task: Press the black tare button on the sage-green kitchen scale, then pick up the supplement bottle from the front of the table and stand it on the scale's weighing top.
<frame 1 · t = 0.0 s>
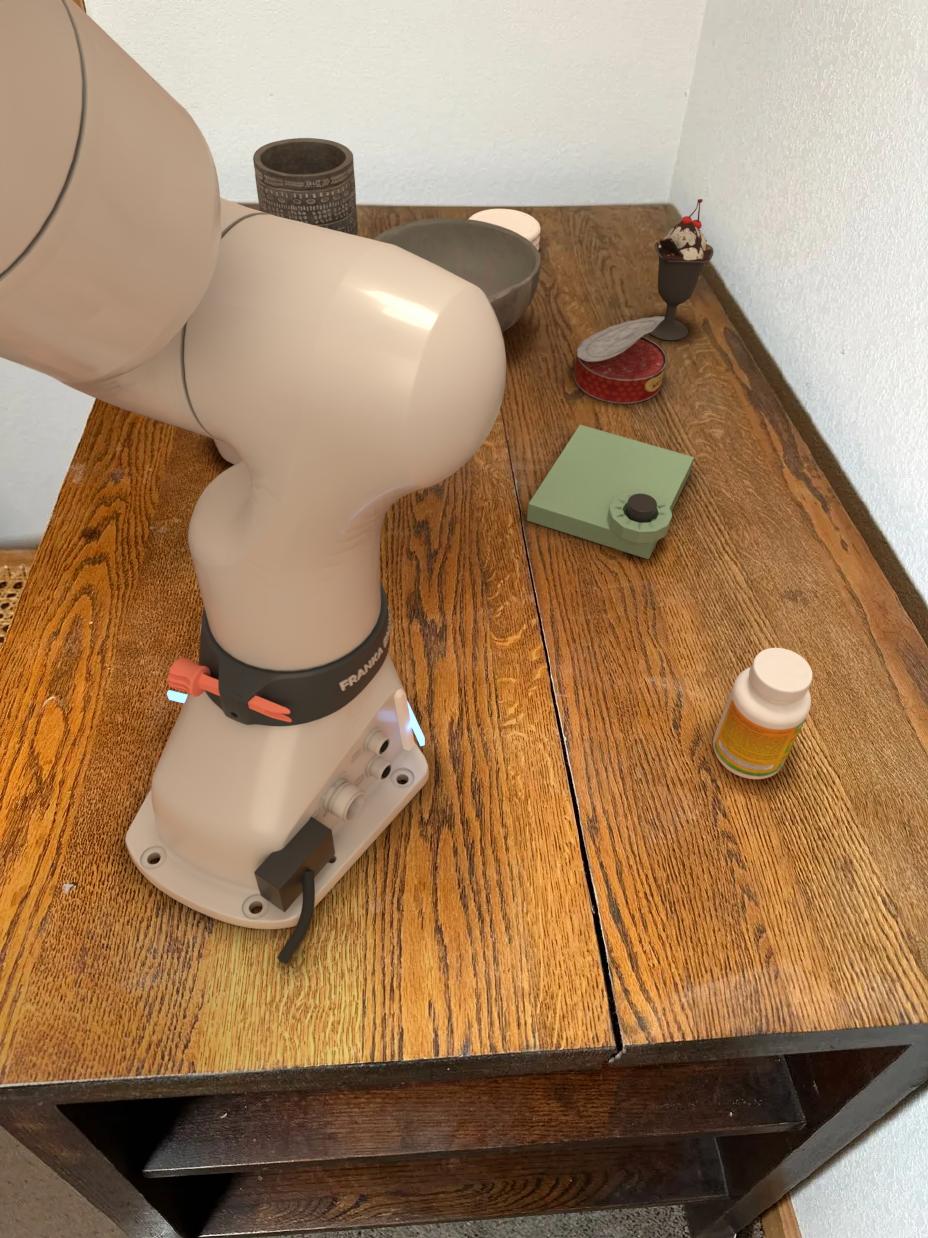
scale: (610, 496, 90), on the table
sundae: (666, 331, 112), on the table
supplement bottle: (747, 753, 70), on the table
tare button: (641, 508, 83), point 4 cm above the table, slide at 0.2 cm
planter: (313, 258, 122), on the table
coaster: (501, 250, 126), on the table
bowl: (448, 335, 110), on the table
candle: (254, 449, 94), on the table
canned food: (616, 380, 105), on the table
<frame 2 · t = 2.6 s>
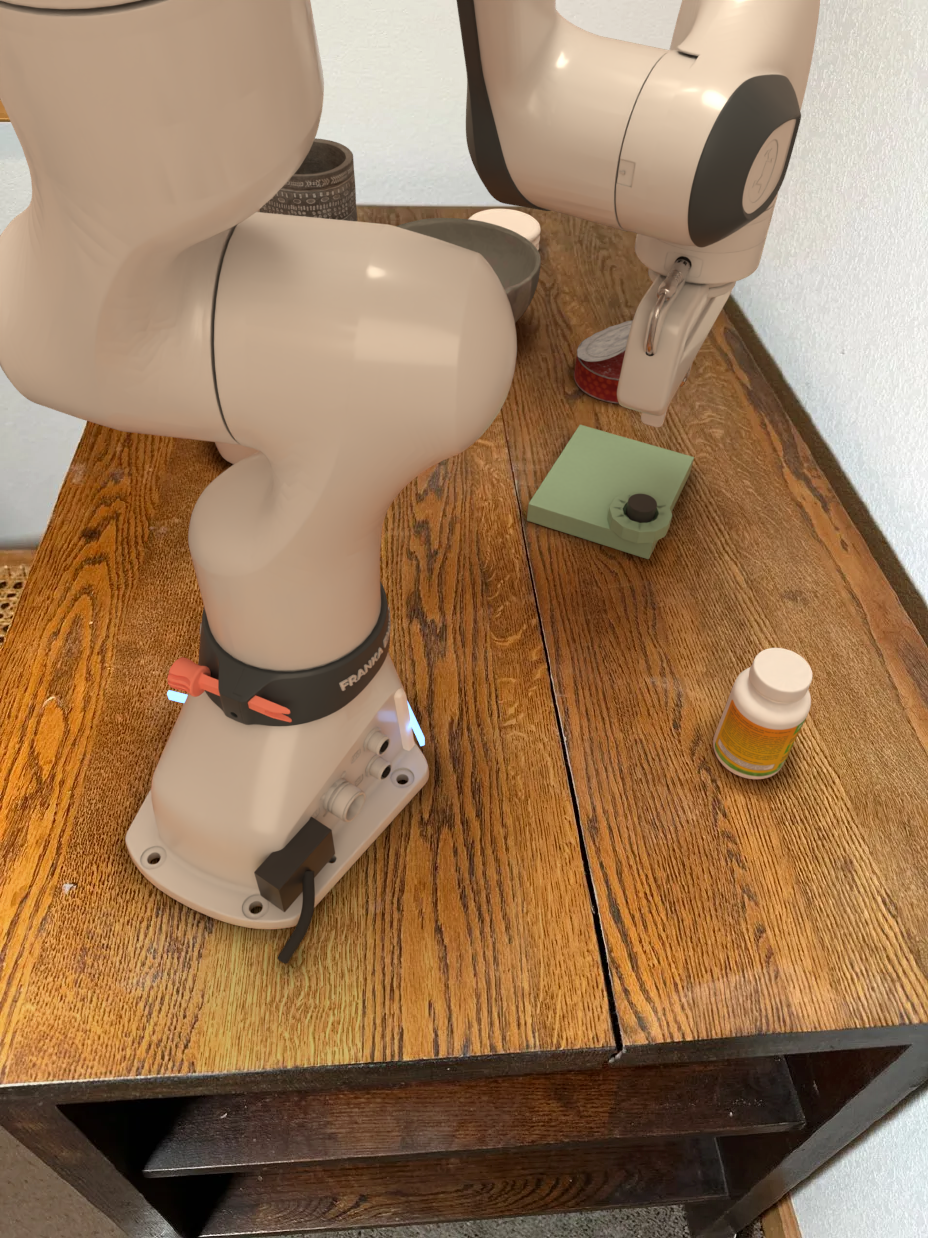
hand: (664, 400, 75), 15 cm above the table, tool pointing down, fingers open, 5 cm apart
nothing on the table moved.
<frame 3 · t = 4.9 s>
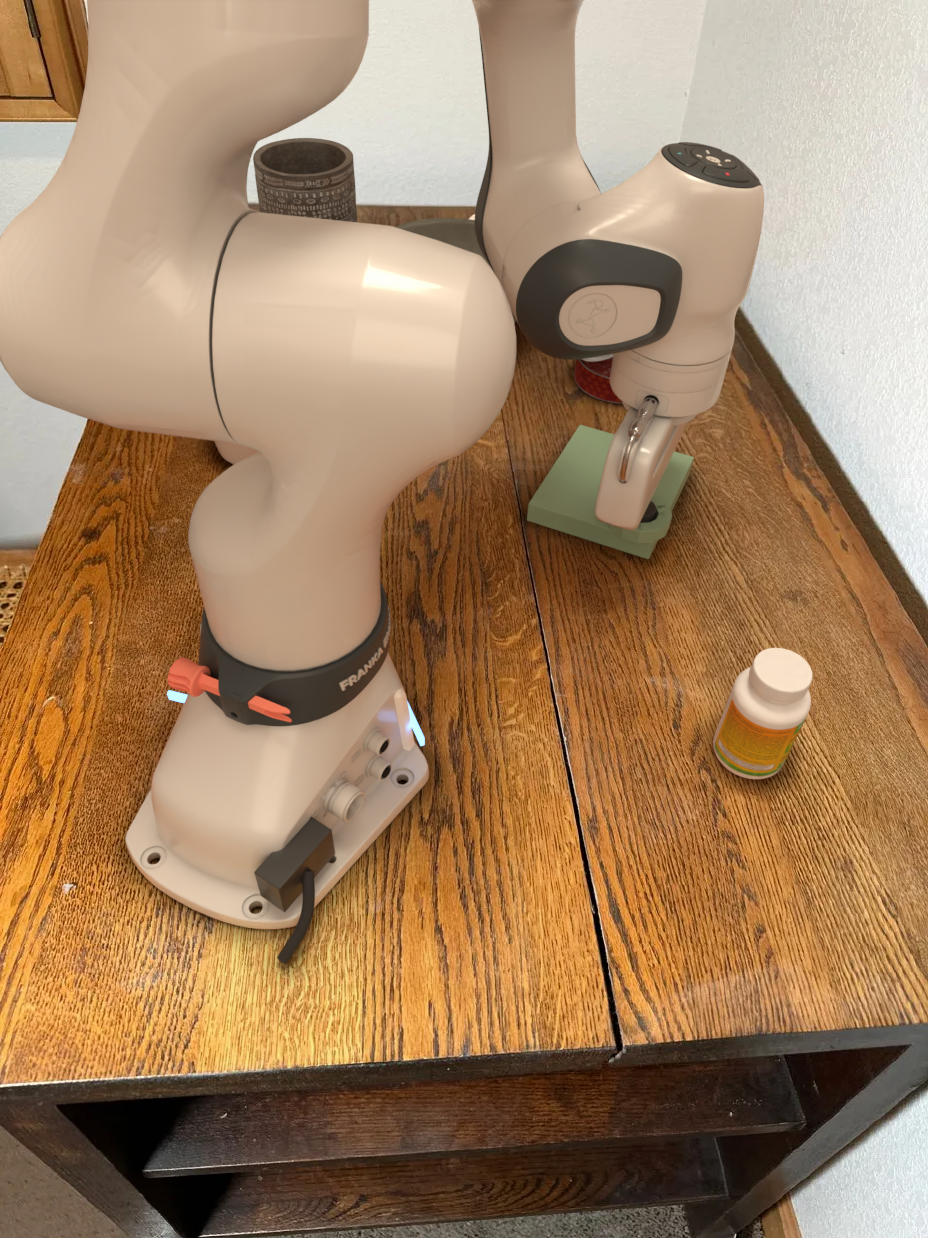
hand: (639, 502, 84), 4 cm above the table, tool pointing down, fingers closed, pressing on tare button
tare button: (640, 512, 84), point 3 cm above the table, slide at -0.3 cm, touching gripper
everything else where it was.
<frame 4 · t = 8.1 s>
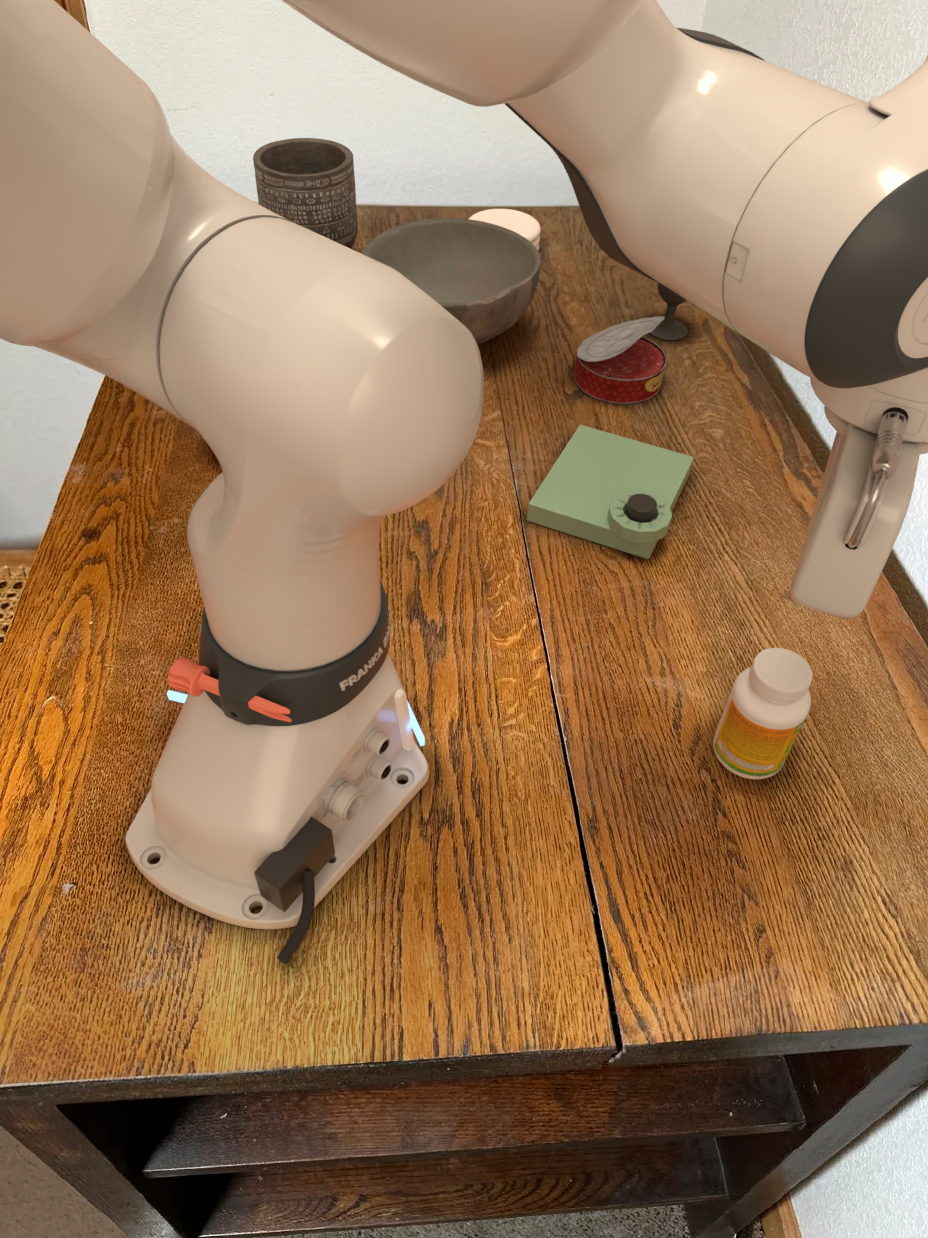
hand: (823, 564, 57), 19 cm above the table, tool pointing down, fingers closed
tare button: (641, 508, 83), point 4 cm above the table, slide at 0.1 cm
everything else where it was.
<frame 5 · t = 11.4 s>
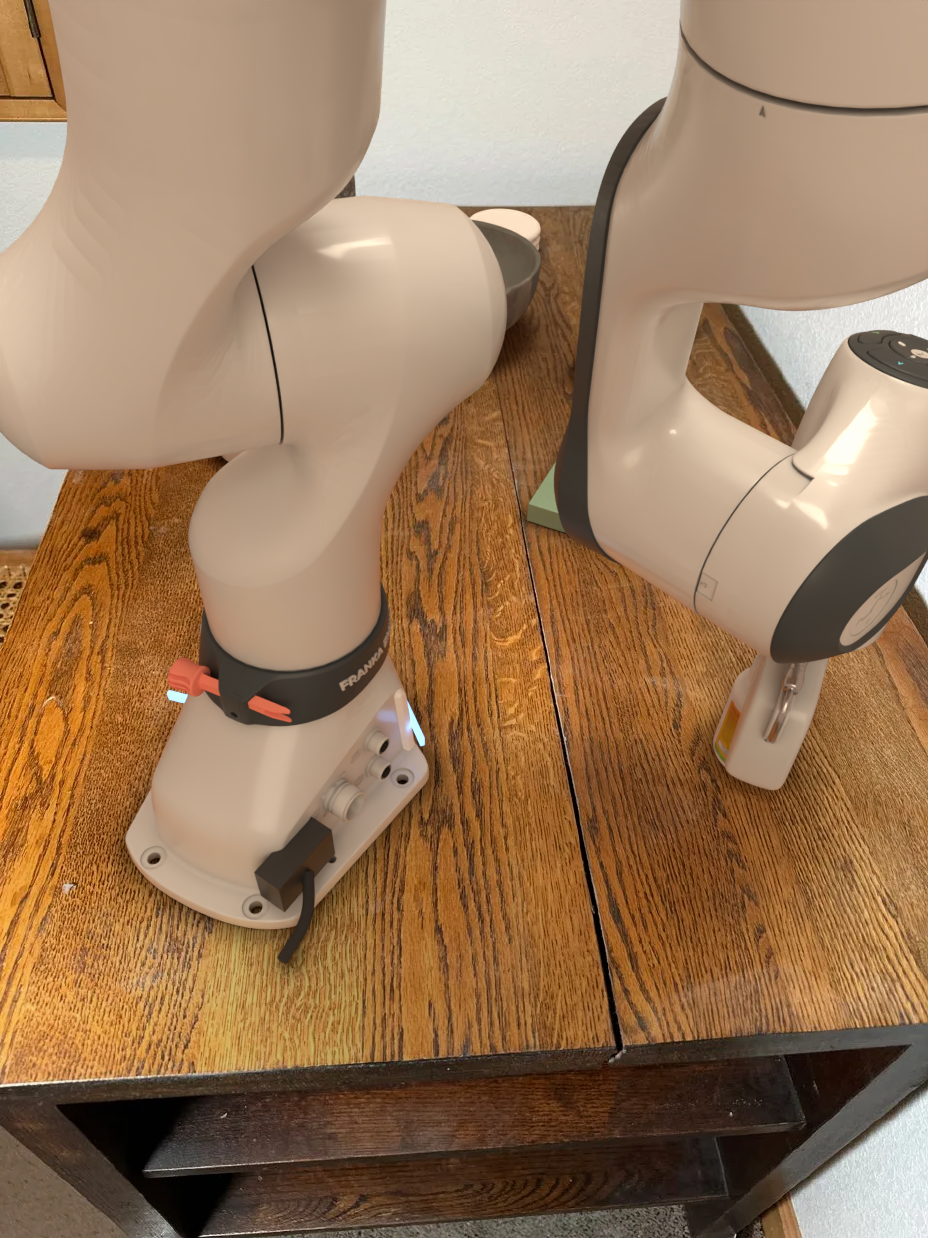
hand: (763, 718, 67), 4 cm above the table, tool pointing down, fingers closed on supplement bottle, 5 cm apart
supplement bottle: (747, 753, 70), on the table, touching gripper
everything else where it was.
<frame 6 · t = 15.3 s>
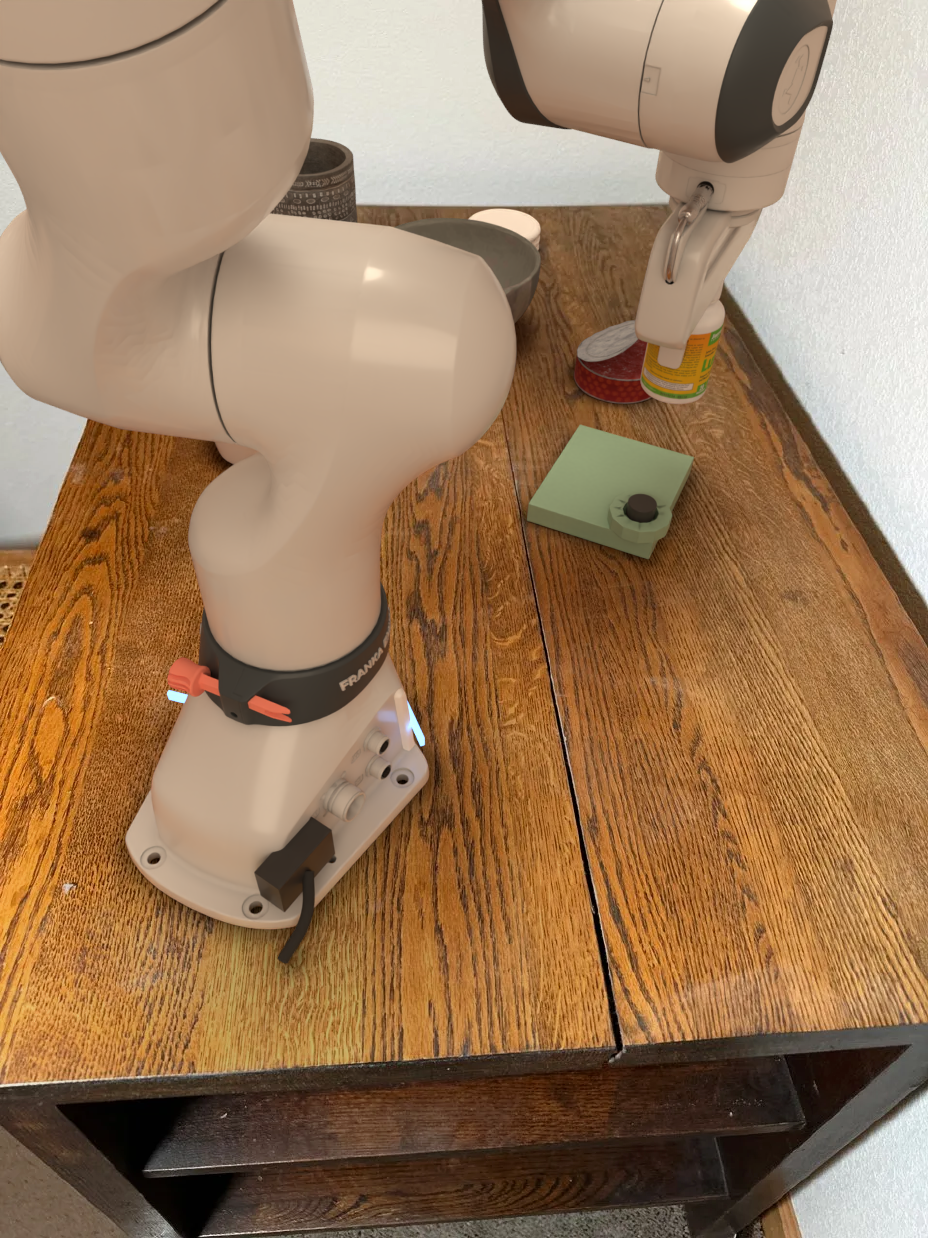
hand: (683, 341, 73), 19 cm above the table, tool pointing down, fingers closed on supplement bottle, 5 cm apart
supplement bottle: (671, 389, 76), point 15 cm above the table, touching gripper
everything else where it was.
when the fingers open (6 cm above the table, at t = 19.4 s): supplement bottle stays where it is, resting on scale.
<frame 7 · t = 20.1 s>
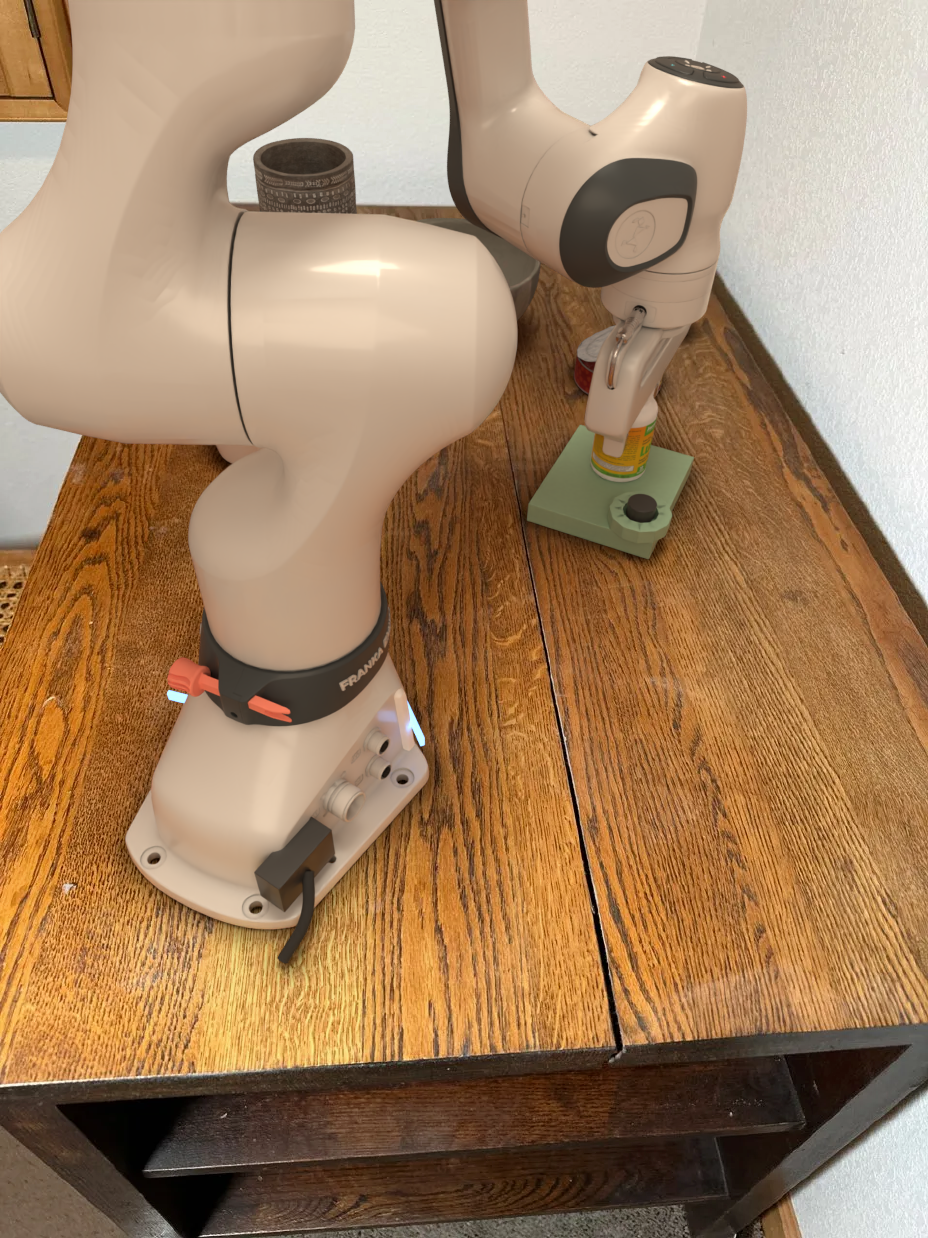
hand: (630, 424, 86), 7 cm above the table, tool pointing down, fingers open, 8 cm apart
supplement bottle: (617, 468, 90), point 2 cm above the table, touching scale
everything else where it was.
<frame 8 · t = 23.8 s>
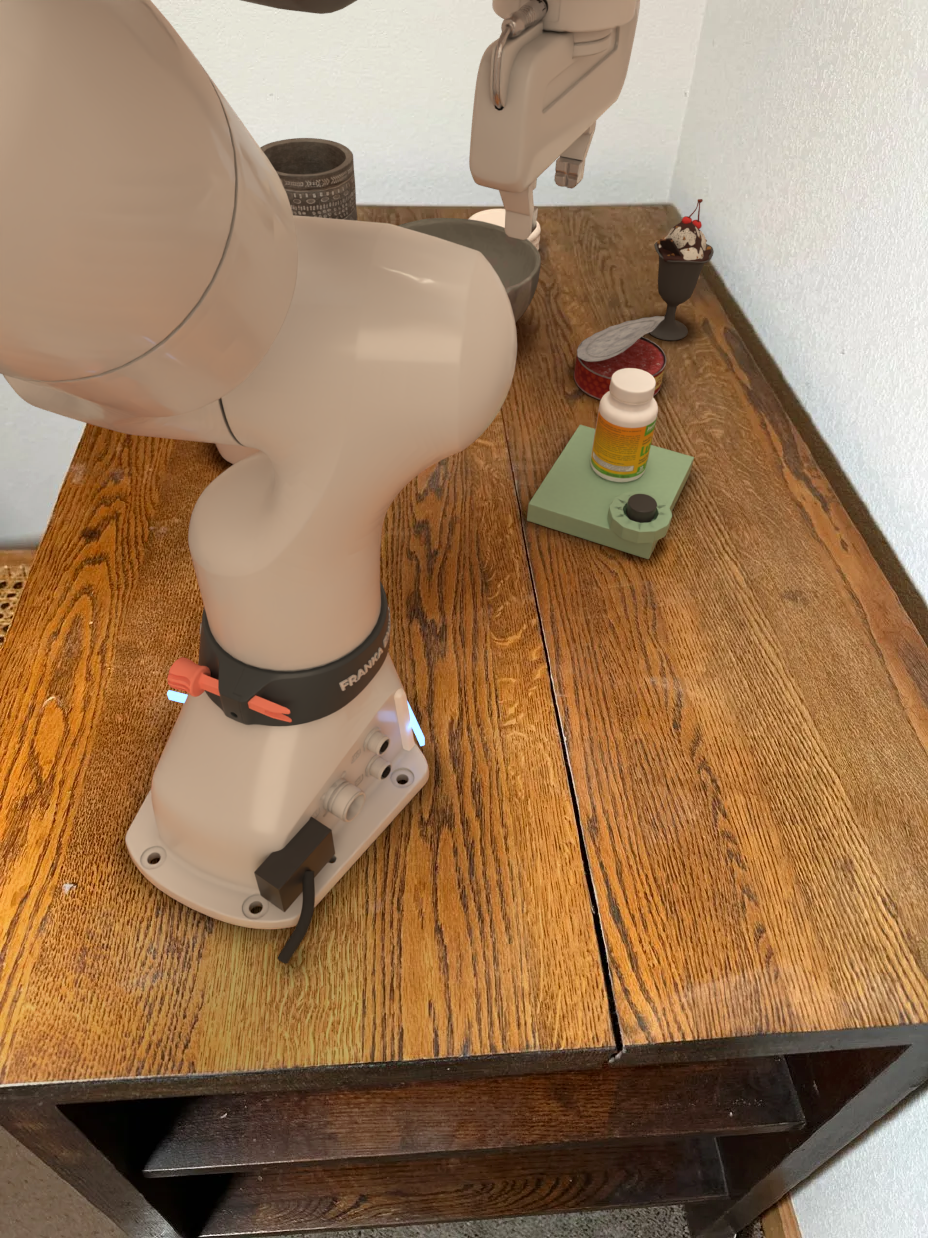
hand: (545, 207, 67), 29 cm above the table, tool pointing down, fingers open, 8 cm apart
nothing on the table moved.
at the end: tare button pushed in 0.7 cm at the most during the clip, back to where it started at the end; supplement bottle inside the target area on the scale (2.0 cm from its centre), point 1.9 cm above the scale's base; supplement bottle tilted 0° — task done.
